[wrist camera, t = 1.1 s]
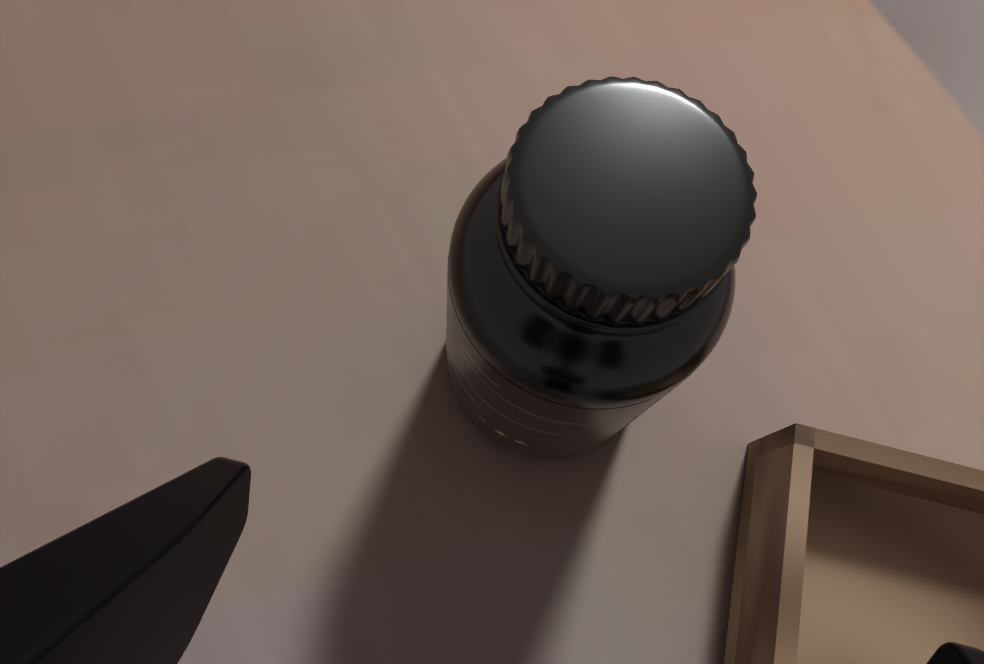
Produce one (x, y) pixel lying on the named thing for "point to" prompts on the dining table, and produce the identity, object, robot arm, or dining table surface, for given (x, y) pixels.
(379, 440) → the dining table surface
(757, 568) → the wooden desk organizer
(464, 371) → the supplement bottle
